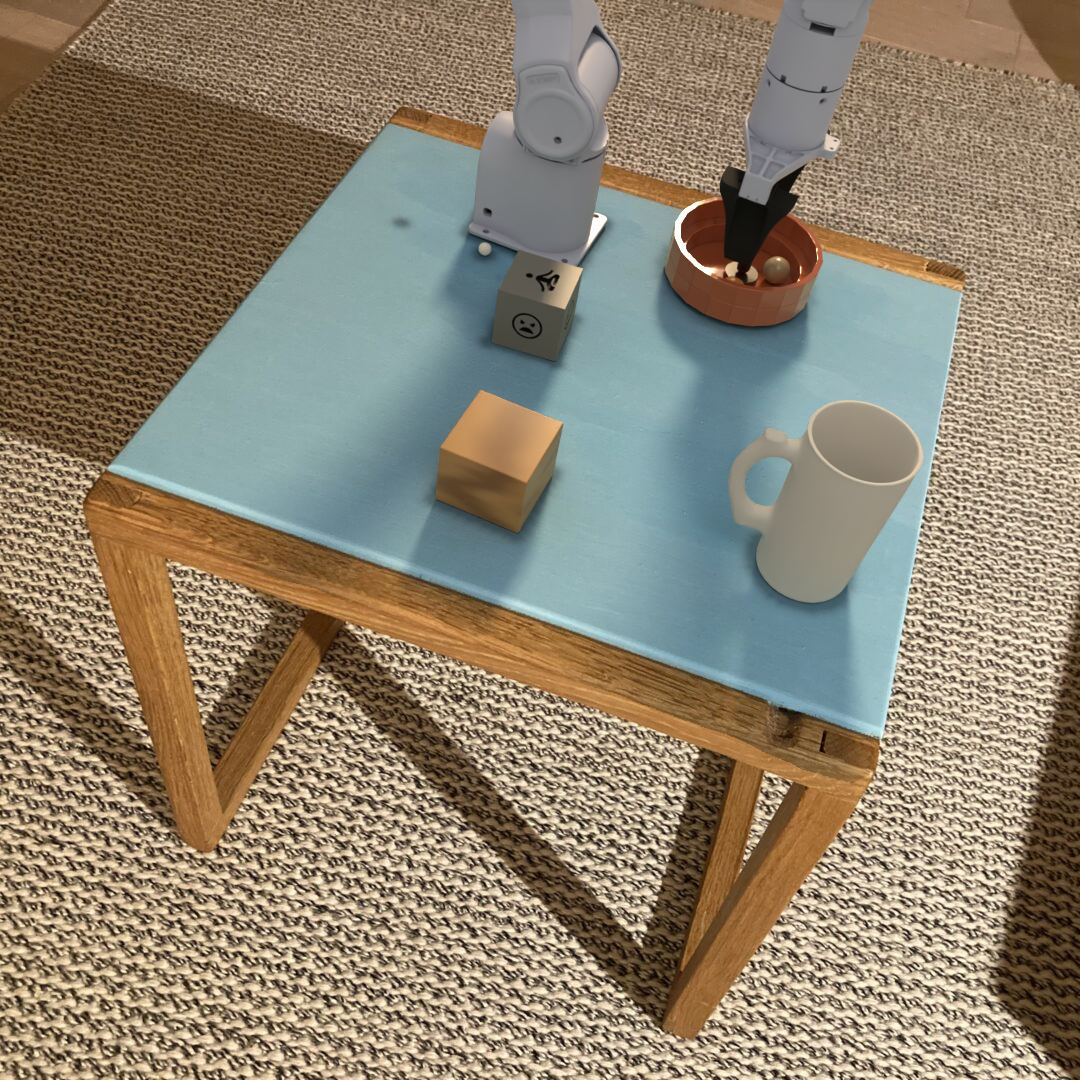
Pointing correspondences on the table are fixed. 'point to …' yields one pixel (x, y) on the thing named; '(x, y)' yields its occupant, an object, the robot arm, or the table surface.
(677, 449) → the table surface
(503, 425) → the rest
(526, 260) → the dice cube
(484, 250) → the sphere
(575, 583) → the table surface
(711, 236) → the bowl
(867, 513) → the mug
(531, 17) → the robot arm
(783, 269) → the cream bead
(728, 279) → the amber bead
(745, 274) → the brown peg
